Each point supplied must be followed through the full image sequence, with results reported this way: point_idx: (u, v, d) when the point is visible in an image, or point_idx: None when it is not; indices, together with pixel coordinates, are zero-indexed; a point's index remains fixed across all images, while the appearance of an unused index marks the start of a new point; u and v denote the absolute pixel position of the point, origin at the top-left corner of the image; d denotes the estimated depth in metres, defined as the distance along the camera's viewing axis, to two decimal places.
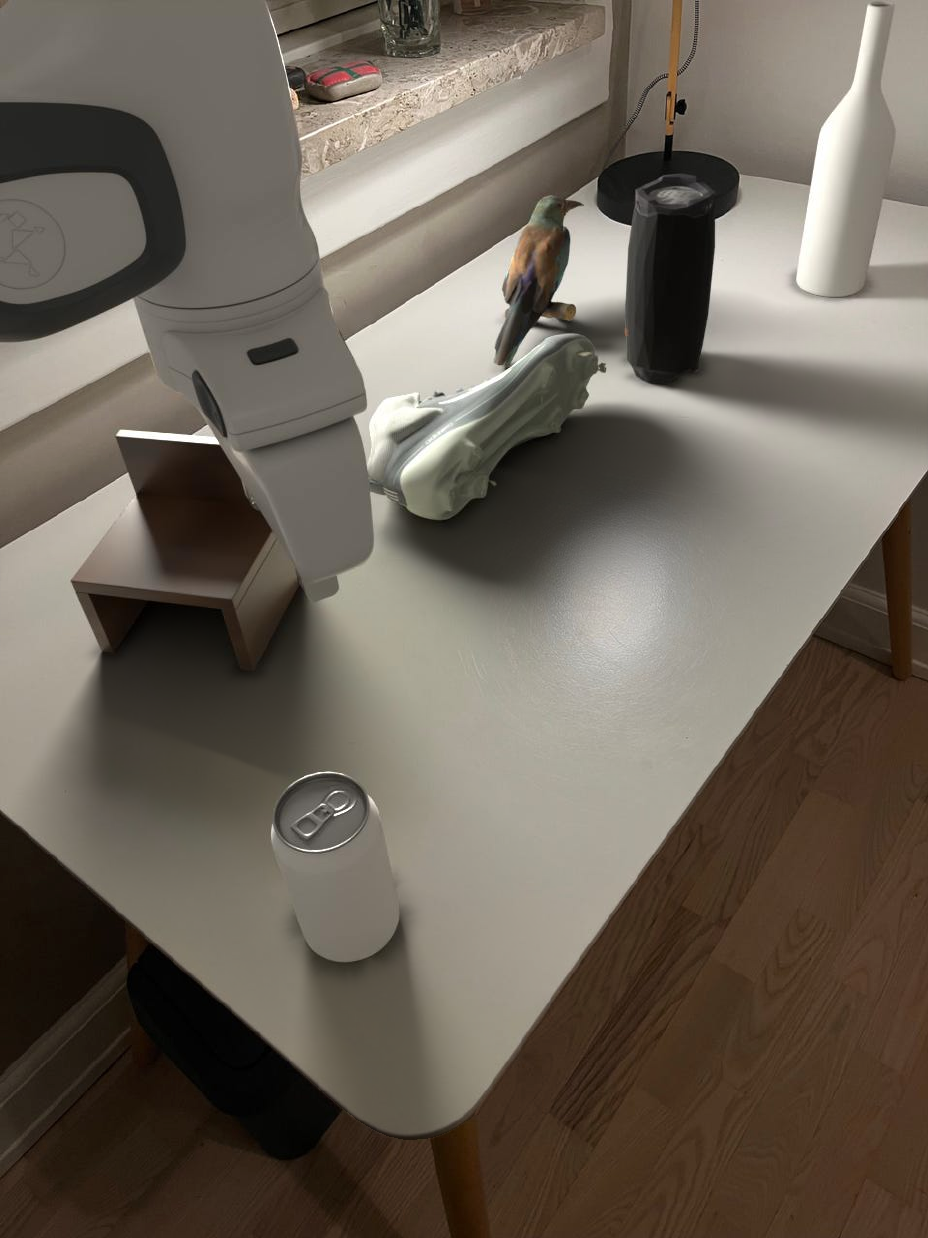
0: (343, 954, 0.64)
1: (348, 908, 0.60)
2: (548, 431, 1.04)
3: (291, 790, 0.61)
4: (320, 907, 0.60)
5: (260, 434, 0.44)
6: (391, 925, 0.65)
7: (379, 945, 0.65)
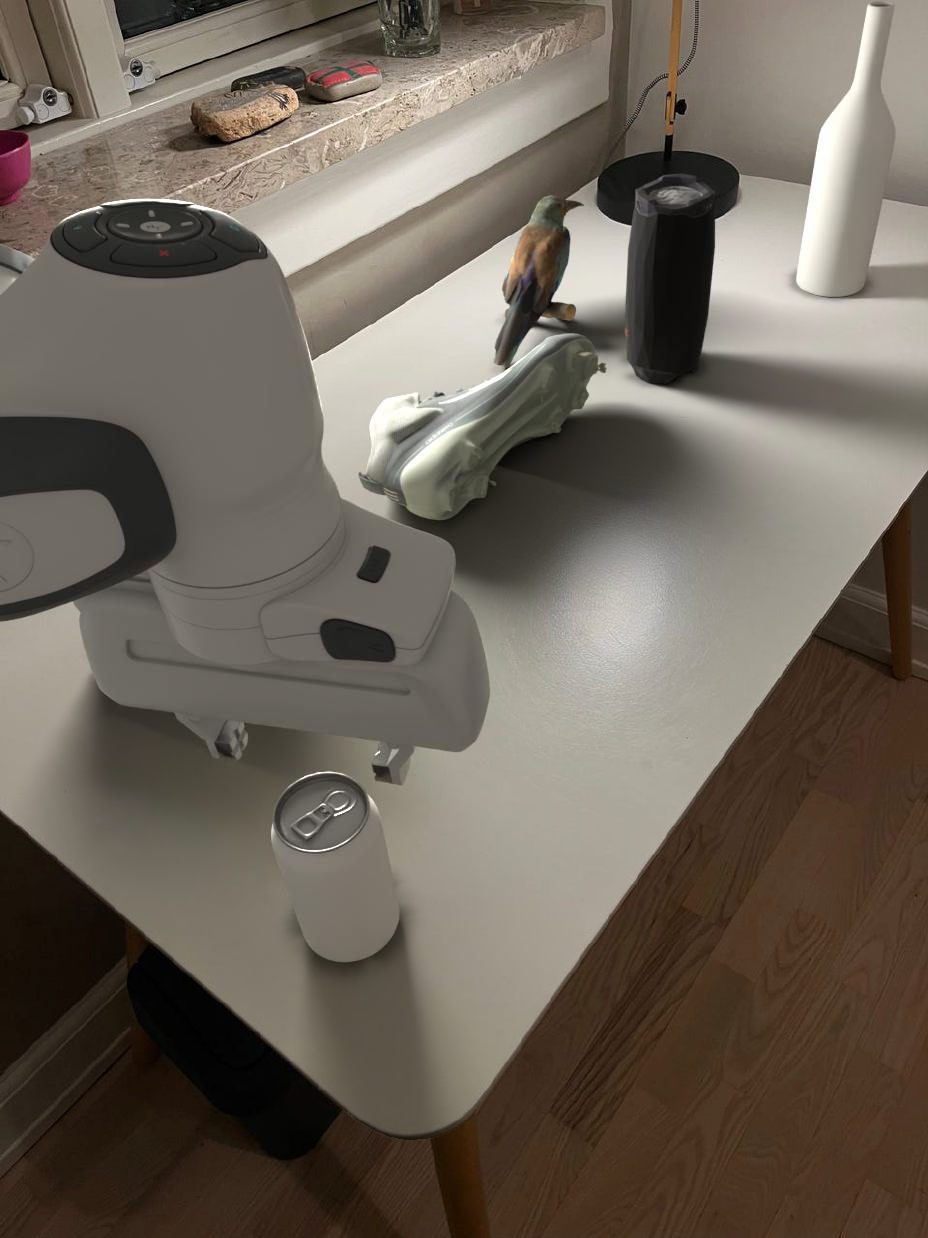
0: (343, 954, 0.64)
1: (348, 908, 0.60)
2: (548, 431, 1.04)
3: (291, 790, 0.61)
4: (320, 907, 0.60)
5: (430, 635, 0.44)
6: (391, 925, 0.65)
7: (379, 945, 0.65)
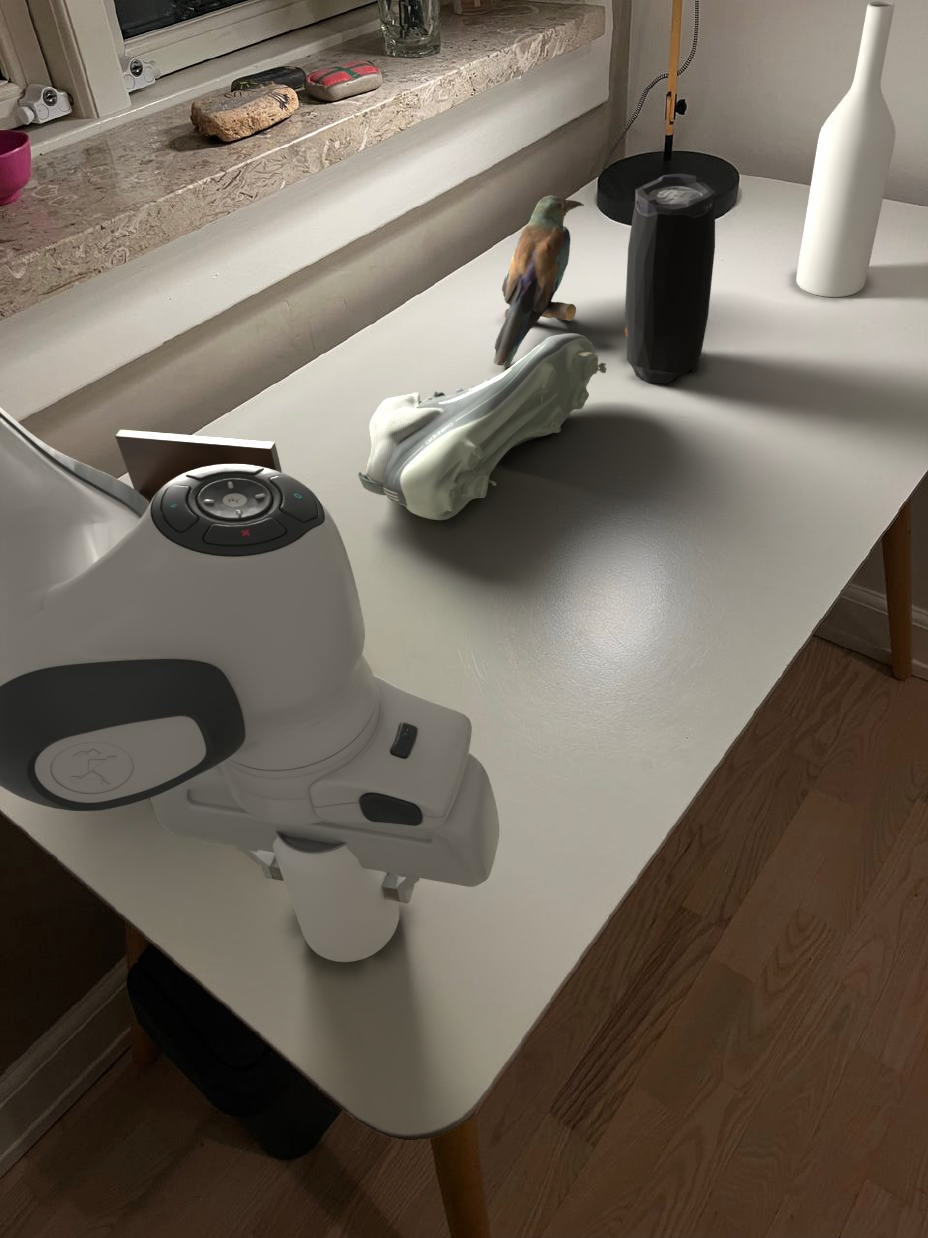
0: (343, 954, 0.64)
1: (348, 908, 0.60)
2: (548, 431, 1.04)
3: None
4: (320, 906, 0.60)
5: (451, 803, 0.52)
6: (391, 924, 0.65)
7: (379, 945, 0.65)
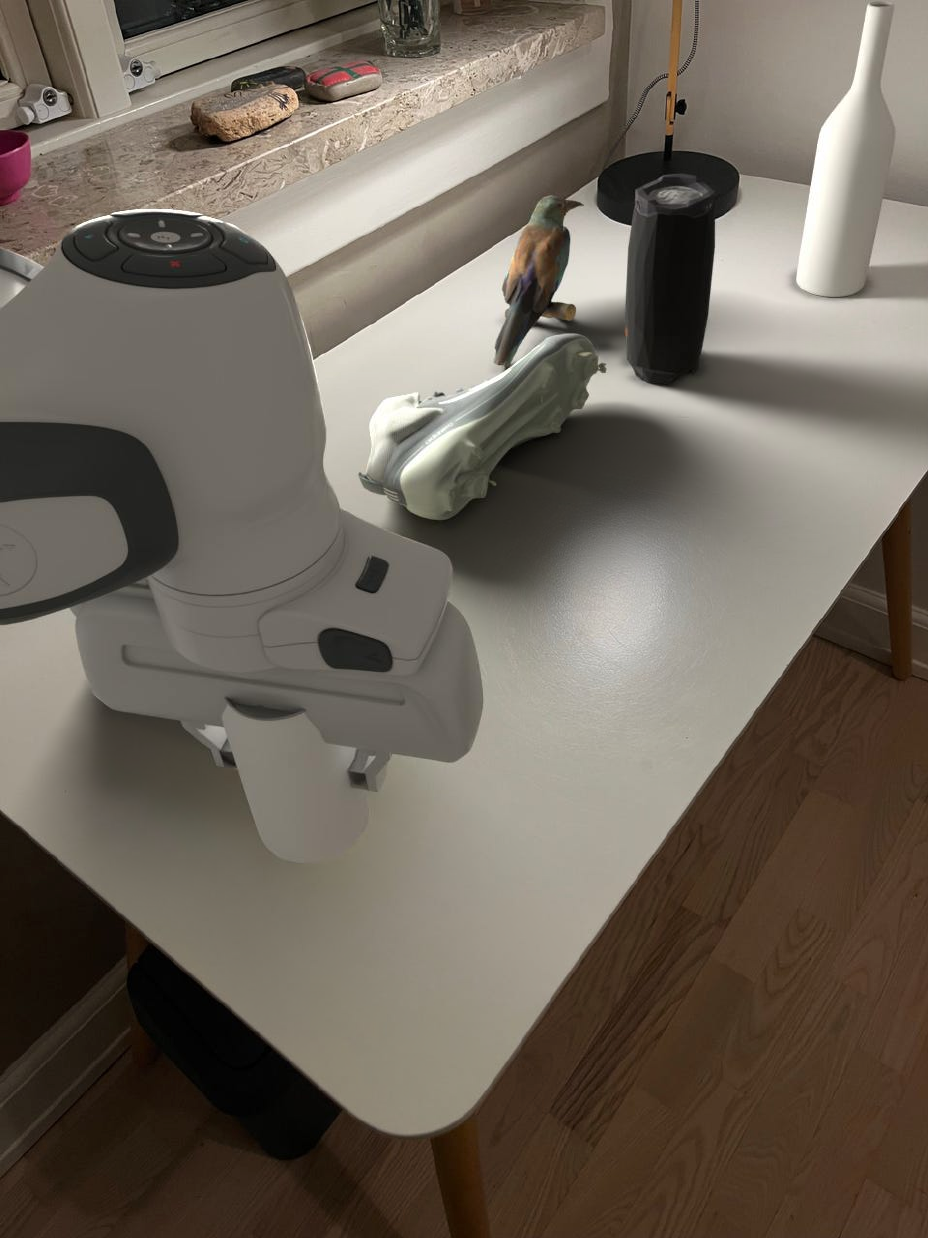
0: (303, 853, 0.56)
1: (309, 793, 0.53)
2: (548, 431, 1.04)
3: None
4: (276, 790, 0.52)
5: (427, 646, 0.44)
6: (358, 821, 0.57)
7: (345, 845, 0.57)
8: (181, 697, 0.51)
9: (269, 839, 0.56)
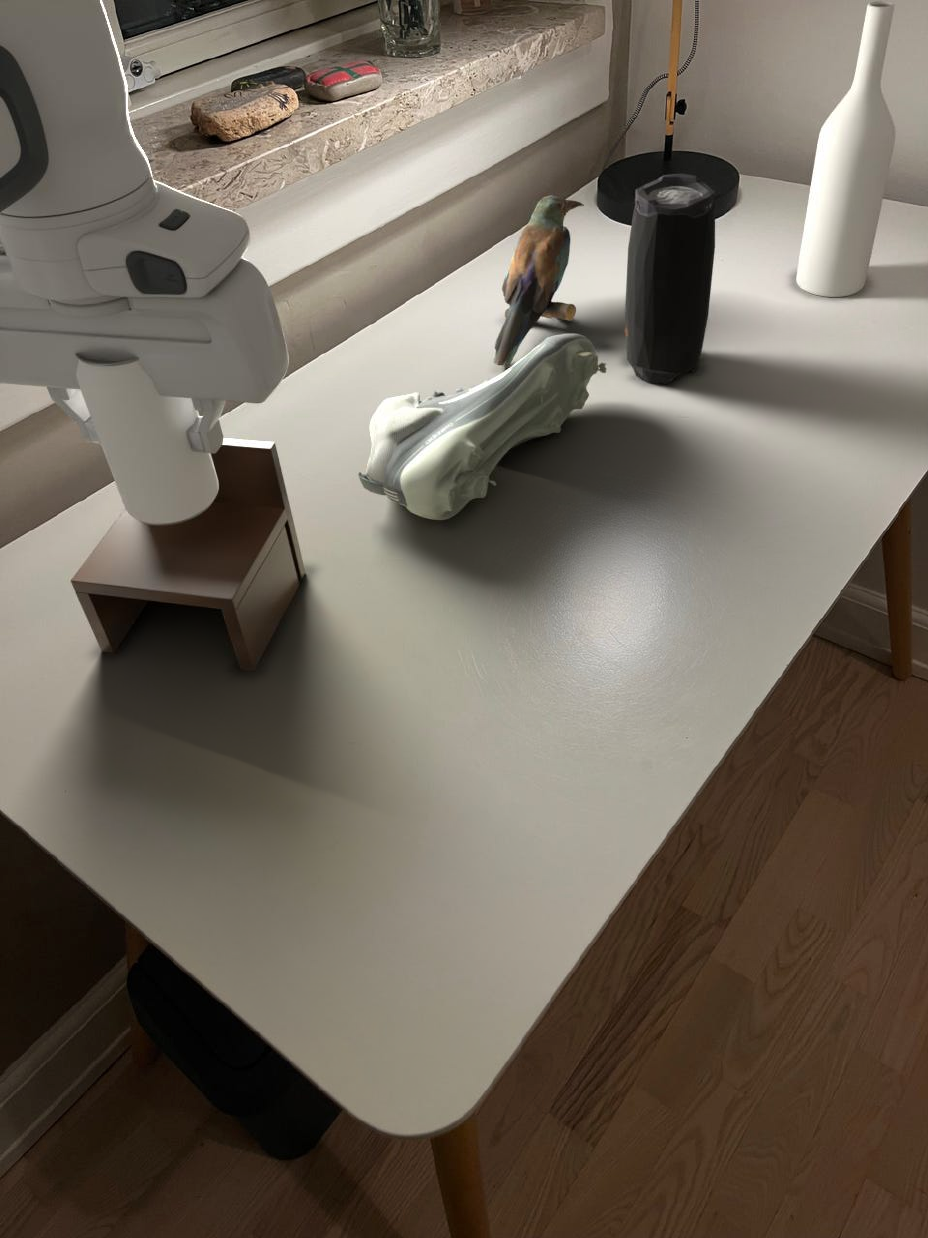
0: (156, 511, 0.67)
1: (151, 443, 0.64)
2: (548, 431, 1.04)
3: None
4: (123, 439, 0.63)
5: (216, 273, 0.55)
6: (204, 489, 0.68)
7: (193, 508, 0.68)
8: (42, 358, 0.62)
9: (128, 501, 0.68)
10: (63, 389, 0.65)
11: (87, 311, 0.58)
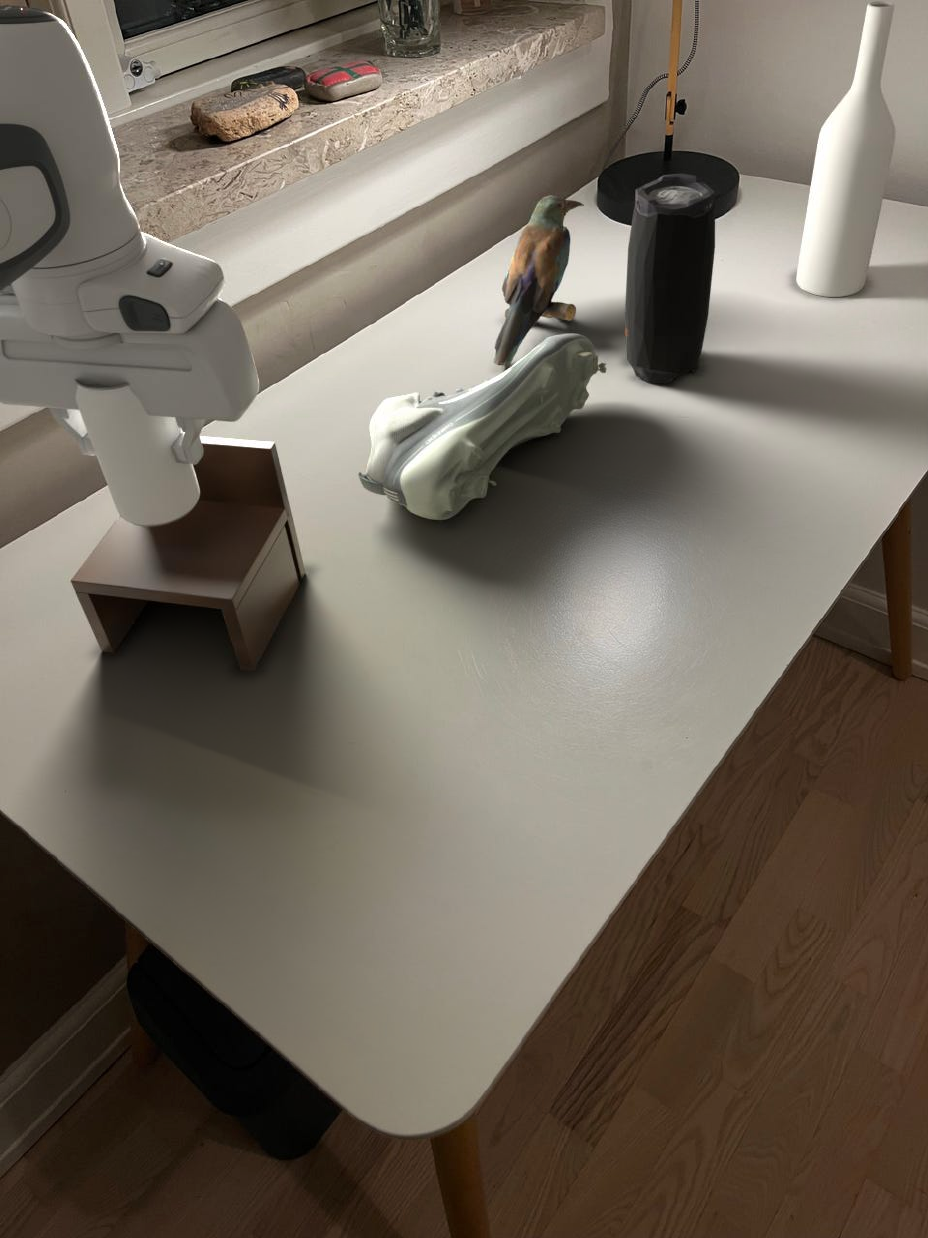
0: (145, 514, 0.77)
1: (140, 456, 0.74)
2: (548, 431, 1.04)
3: None
4: (116, 452, 0.73)
5: (195, 313, 0.65)
6: (187, 495, 0.78)
7: (177, 511, 0.78)
8: (46, 383, 0.72)
9: (121, 506, 0.77)
10: (64, 409, 0.75)
11: (85, 344, 0.68)
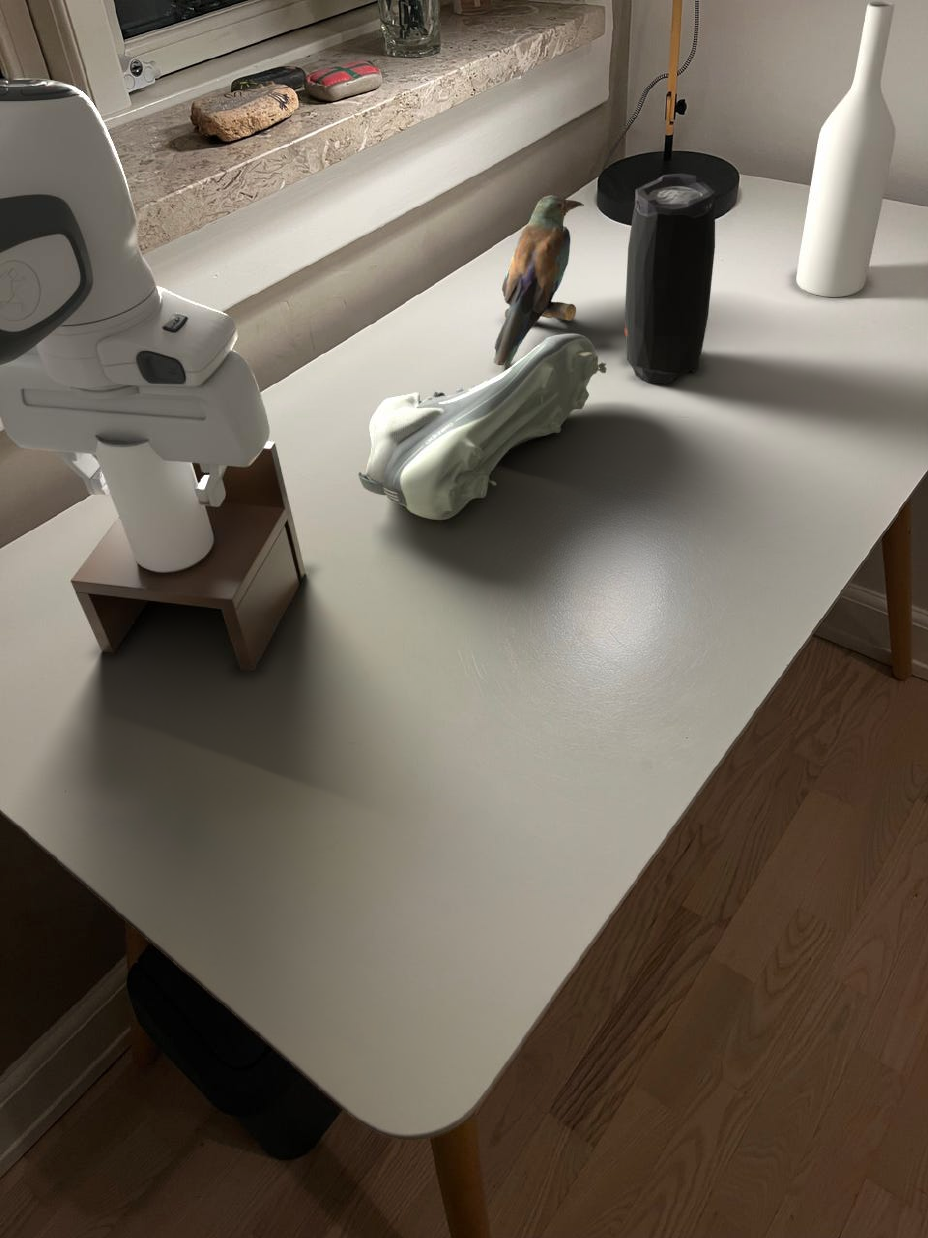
0: (161, 561, 0.80)
1: (158, 508, 0.77)
2: (548, 431, 1.04)
3: None
4: (135, 505, 0.77)
5: (209, 367, 0.68)
6: (202, 543, 0.81)
7: (192, 558, 0.81)
8: (64, 429, 0.75)
9: (138, 553, 0.81)
10: (72, 452, 0.78)
11: (103, 395, 0.70)
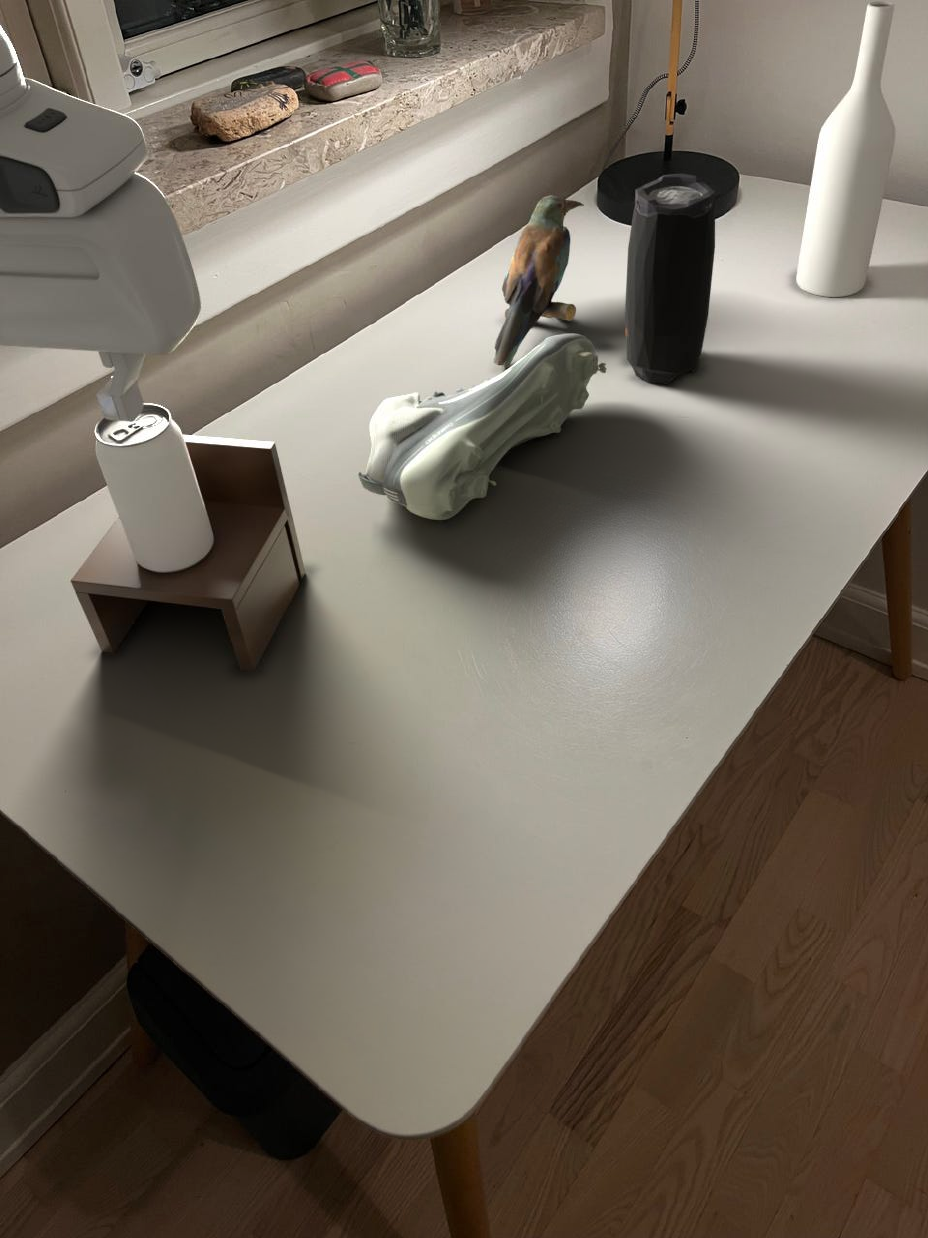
0: (162, 561, 0.80)
1: (157, 508, 0.77)
2: (548, 431, 1.04)
3: None
4: (135, 505, 0.77)
5: (97, 186, 0.44)
6: (202, 542, 0.81)
7: (192, 558, 0.81)
8: None
9: (138, 553, 0.81)
10: None
11: None
